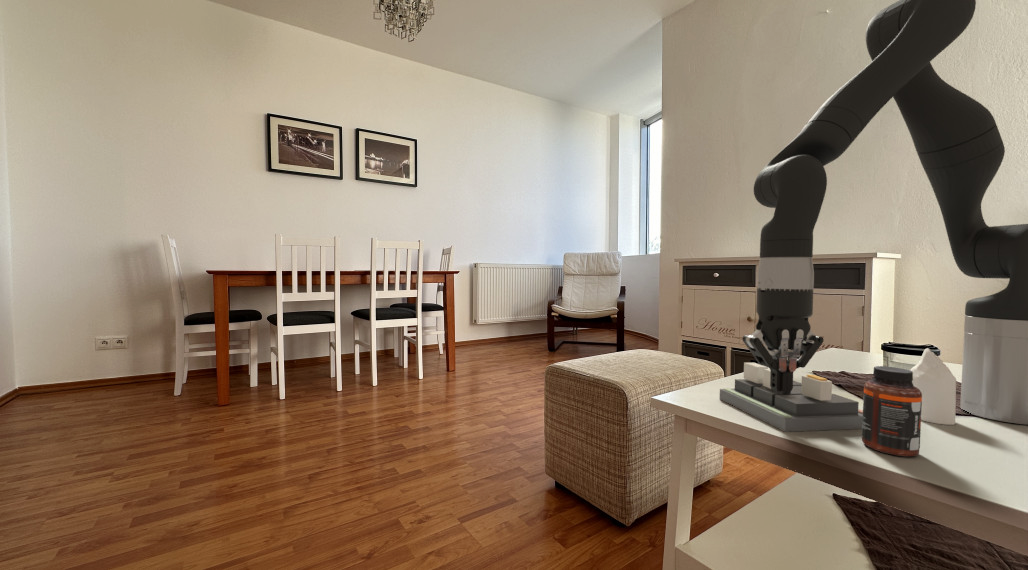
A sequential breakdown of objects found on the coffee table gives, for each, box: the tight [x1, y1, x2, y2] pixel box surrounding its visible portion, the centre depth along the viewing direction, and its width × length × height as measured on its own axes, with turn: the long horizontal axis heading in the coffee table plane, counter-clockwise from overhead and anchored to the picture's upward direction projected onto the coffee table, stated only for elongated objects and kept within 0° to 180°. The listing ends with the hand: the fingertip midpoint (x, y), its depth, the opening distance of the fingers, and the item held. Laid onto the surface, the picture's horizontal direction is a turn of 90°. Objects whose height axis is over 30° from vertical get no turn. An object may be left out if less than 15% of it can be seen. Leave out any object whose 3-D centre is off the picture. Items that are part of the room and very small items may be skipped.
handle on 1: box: [743, 362, 769, 383], centre depth 76 cm, size 2×4×3 cm, turn 7°
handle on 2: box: [763, 368, 771, 389], centre depth 71 cm, size 2×4×3 cm, turn 7°
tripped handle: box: [801, 374, 833, 400], centre depth 66 cm, size 2×4×3 cm, turn 7°
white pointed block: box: [909, 347, 957, 426], centre depth 69 cm, size 6×12×6 cm
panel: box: [719, 378, 863, 433], centre depth 71 cm, size 16×16×4 cm
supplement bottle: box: [861, 365, 922, 458], centre depth 56 cm, size 6×6×11 cm
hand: (780, 393), depth 65 cm, fingers closed
